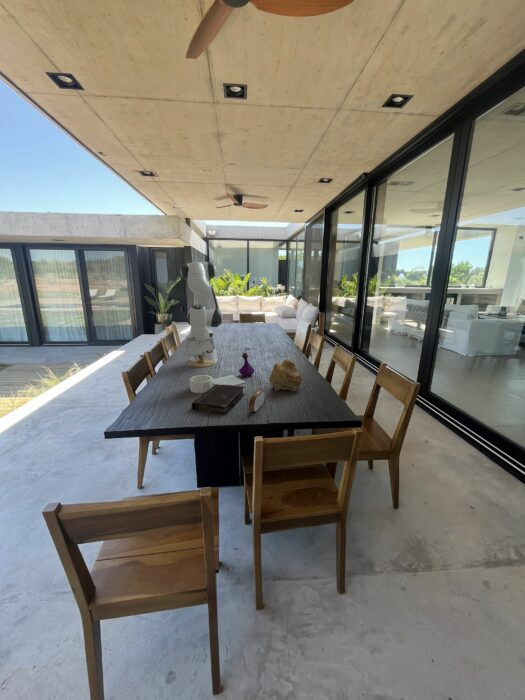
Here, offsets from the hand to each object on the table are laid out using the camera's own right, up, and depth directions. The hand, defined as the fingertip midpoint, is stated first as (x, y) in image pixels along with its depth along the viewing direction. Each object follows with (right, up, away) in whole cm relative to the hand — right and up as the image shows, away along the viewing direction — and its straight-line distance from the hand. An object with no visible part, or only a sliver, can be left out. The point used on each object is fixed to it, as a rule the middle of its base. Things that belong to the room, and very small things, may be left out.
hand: (200, 360), depth 161 cm
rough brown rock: (+48, -16, +7) cm, 51 cm away
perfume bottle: (+24, -11, +26) cm, 37 cm away
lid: (0, -2, 0) cm, 2 cm away
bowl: (0, -16, +4) cm, 17 cm away
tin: (+32, -22, -19) cm, 43 cm away
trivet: (+13, -13, +15) cm, 24 cm away
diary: (+13, -21, -12) cm, 27 cm away
